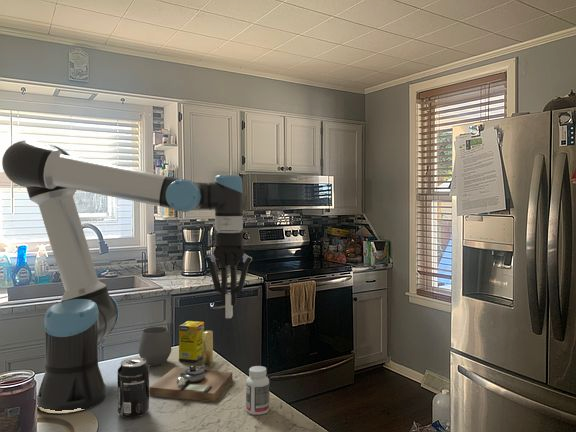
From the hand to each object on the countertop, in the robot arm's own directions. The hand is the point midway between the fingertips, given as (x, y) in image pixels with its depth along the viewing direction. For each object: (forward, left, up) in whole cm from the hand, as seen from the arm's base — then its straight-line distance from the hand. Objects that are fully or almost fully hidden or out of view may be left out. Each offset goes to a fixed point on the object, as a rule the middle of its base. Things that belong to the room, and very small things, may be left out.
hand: (229, 316), depth 127 cm
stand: (-7, -9, -17) cm, 20 cm away
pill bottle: (+13, -18, -17) cm, 28 cm away
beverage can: (-14, -26, -17) cm, 34 cm away
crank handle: (-7, -8, -14) cm, 18 cm away
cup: (-25, +5, -17) cm, 30 cm away
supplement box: (-16, +11, -17) cm, 26 cm away
